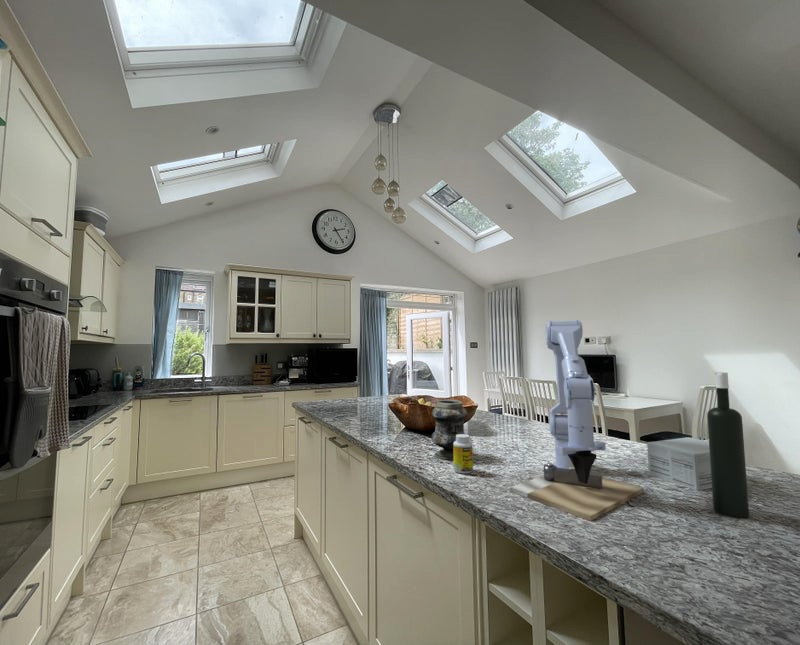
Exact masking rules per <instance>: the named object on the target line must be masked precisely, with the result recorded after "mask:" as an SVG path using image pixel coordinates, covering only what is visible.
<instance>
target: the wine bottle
mask: <svg viewBox="0 0 800 645" xmlns="http://www.w3.org/2000/svg"><path fill="white" fill-rule="evenodd" d="M714 378H715V380H714V381H715V388H716V401H717V407H713V408H710V409H709V410H708V411H707V414H706V416H707V419H706V420H707V433H708V435H707V436H708V441H709V450H710V465H711V480H712V488H711V492H712V493H711V494H712V495H711V496H712V509H713V511H714V512H716V513H717V514H719V515H722V516H725V517H729V518H733V519H743V520H744V519H748V518H750V509H749V507H750V506H749V495H748V481H747V479H748V478H747V469H746V468H747V467H746V456H745V441H744V424H743V416H742V414H741V413H740V412H739V411H738V410H736V409H733V408H730V396H729V395H730V393H729V389H730V388H729V374H728V372H723V371H722V372H721V371H717V372H714Z"/></svg>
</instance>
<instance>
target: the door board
mask: <svg viewBox="0 0 800 645" xmlns="http://www.w3.org/2000/svg"><path fill="white" fill-rule="evenodd" d="M565 469H572V470H575V468H574V467H569V468H565ZM602 484H603V486H602V488H596V487H590V486H584V485H578V484H572V483H565V482H559V481H550V480H546V479H544V475H542V476H538V477H535V478H533V479H530V480H527V481H523V482H521V483H519V484H515V485H513V486H510V487H509V491H510V493H512V494H513V493H514V494H516V495H518V496H521V497H524V498H527V499H530V500H532V501H535V502H538V503H539V504H544V505H545V506H549V507H552V508H554V509H557V510H560V511H562V512H564V513H568V514H571V515H573V516H577V517H579V518H582V519H583V520H587V521H590V522H592V521H594V520H595V519H597V518H599V517H601V516H602V515H604V514H607V513H609V512H610V511H612V510H614V509H615V508H617V507H619V506H621V505H622V504H624V503H627V502H629V501H631V500H632V499H634V498H636V497H638V496H640V495H641V494H643V493H644V492H645V491H644V490H645V489H644V487H641V486H638V485H634V484H630V483H626V482H622V481H619V480H615V479H612V478H607V477H603V476H602Z"/></svg>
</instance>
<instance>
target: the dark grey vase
mask: <svg viewBox="0 0 800 645" xmlns="http://www.w3.org/2000/svg"><path fill="white" fill-rule="evenodd" d="M431 415H432V417H433V418H434V419H435V430H434V432H433V433H432V434H431V441H432V443H433V444H434V445H435V446H438V447H439V448H441V449H440V450H438V451H436V452H435V453H434V457H436V458H439V459H441V460H453V461H454V459H453V443H454V442H455V441H456V435H458V434H466V433H465V430H464V428H465V427H464V423H465V422H464V421H465V419H467V416H468V411H467V410H466V408H464V406H463V402H462V400H461V401H460V400H456V399H439V400H437V401H436V406H435V407H433V409H432V411H431Z"/></svg>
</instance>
